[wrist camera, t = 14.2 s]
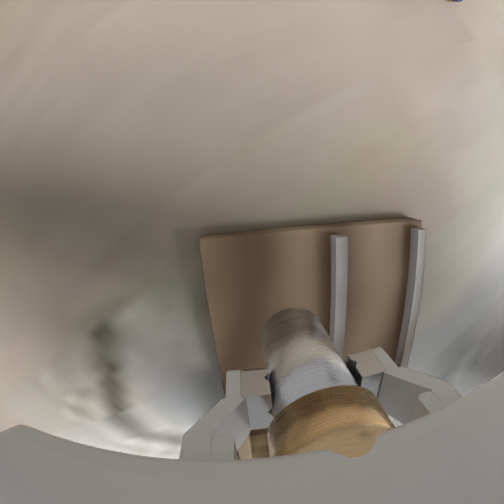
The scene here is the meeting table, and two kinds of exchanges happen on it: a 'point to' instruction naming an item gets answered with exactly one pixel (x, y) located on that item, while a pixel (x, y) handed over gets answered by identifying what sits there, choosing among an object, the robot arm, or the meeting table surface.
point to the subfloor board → (315, 286)
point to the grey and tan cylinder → (315, 391)
